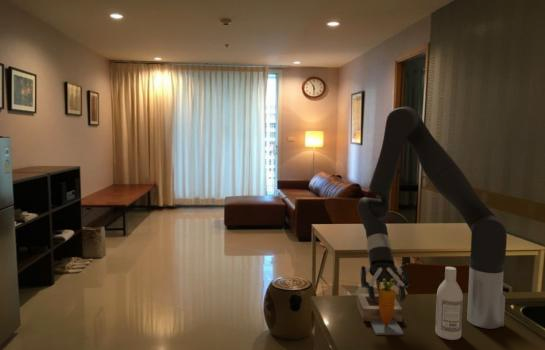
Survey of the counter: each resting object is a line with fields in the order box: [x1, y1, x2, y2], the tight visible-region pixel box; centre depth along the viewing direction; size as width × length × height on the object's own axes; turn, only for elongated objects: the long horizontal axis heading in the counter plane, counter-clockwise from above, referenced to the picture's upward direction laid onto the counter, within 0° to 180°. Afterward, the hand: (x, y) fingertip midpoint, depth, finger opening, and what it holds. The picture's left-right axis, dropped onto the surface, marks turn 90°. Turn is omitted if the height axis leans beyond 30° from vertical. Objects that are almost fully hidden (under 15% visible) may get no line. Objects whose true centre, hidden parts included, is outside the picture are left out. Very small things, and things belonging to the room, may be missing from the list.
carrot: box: [378, 278, 396, 326], centre depth 122 cm, size 5×5×15 cm
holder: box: [356, 293, 403, 323], centre depth 133 cm, size 12×12×4 cm
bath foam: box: [434, 266, 464, 341], centre depth 117 cm, size 7×7×20 cm
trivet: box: [369, 320, 404, 336], centre depth 123 cm, size 8×8×1 cm
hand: (388, 300), depth 120 cm, fingers open, 8 cm apart
